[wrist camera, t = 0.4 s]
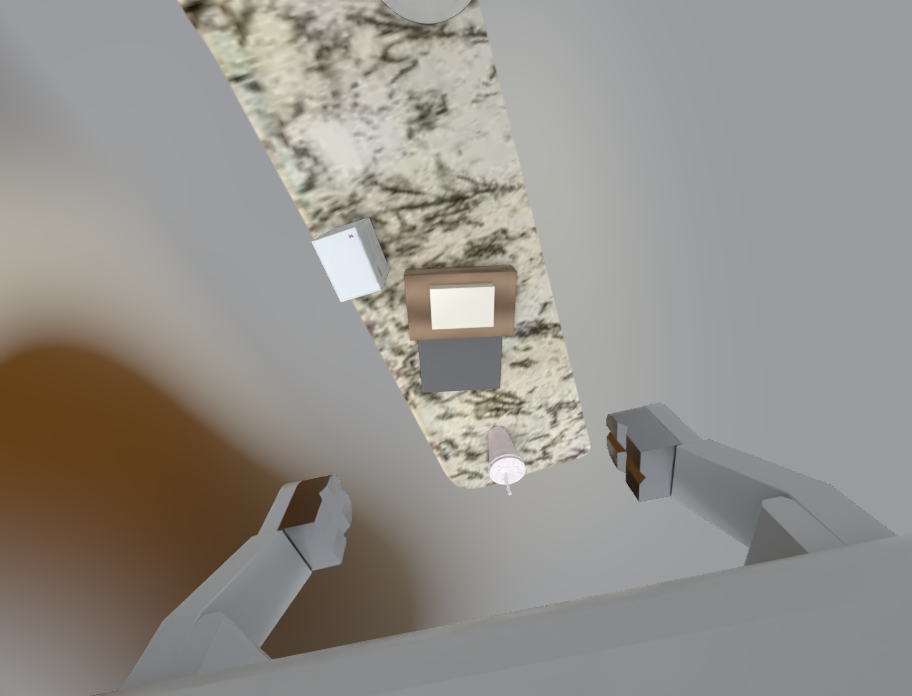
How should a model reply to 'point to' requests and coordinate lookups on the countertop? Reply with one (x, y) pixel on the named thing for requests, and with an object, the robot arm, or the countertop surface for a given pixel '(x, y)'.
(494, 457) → the smoothie
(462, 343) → the mat
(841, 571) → the robot arm
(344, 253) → the small box
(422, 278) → the brown wooden block
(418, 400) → the countertop surface
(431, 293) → the tile
